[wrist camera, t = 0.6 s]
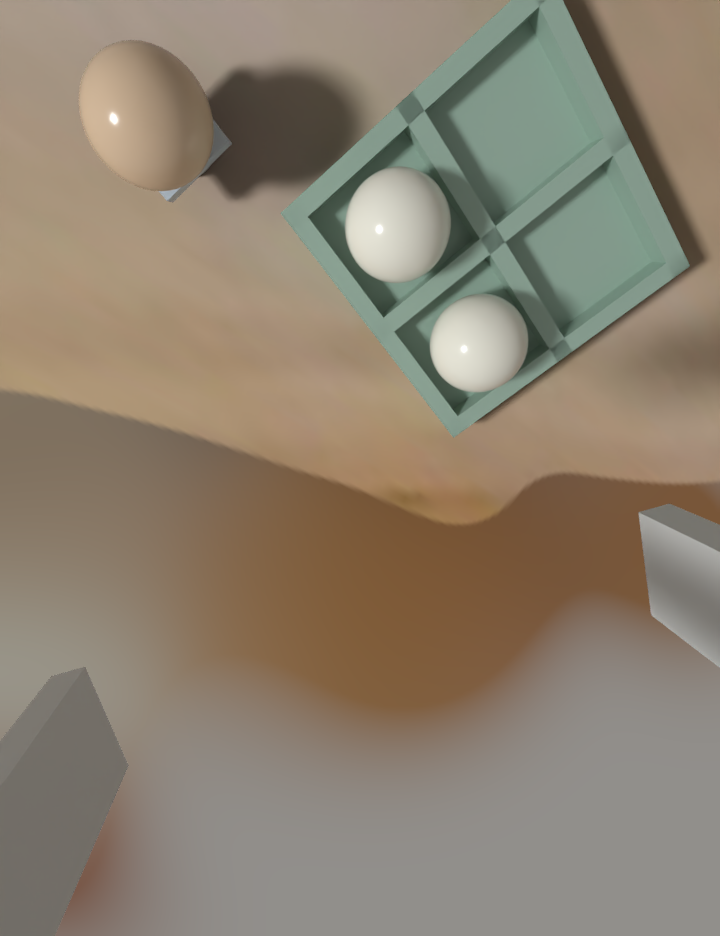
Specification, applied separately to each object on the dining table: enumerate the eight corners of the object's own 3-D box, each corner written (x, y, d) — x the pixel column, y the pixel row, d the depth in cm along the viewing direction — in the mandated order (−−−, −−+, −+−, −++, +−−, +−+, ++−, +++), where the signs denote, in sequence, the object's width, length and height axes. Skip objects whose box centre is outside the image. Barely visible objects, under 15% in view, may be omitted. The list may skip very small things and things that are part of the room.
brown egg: (165, 34, 23) (119, -22, 18) (247, 144, 25) (226, 120, 20) (85, 121, 24) (22, 90, 20) (170, 220, 26) (132, 214, 21)
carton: (528, -9, 26) (547, -33, 23) (664, 264, 31) (690, 266, 29) (284, 215, 29) (280, 213, 27) (445, 424, 35) (453, 437, 32)
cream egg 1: (402, 150, 27) (417, 129, 22) (458, 237, 29) (484, 236, 24) (324, 219, 28) (322, 215, 24) (383, 299, 30) (392, 310, 25)
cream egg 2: (479, 269, 30) (508, 274, 25) (526, 342, 32) (562, 361, 27) (405, 329, 31) (418, 345, 26) (454, 396, 33) (476, 423, 28)
